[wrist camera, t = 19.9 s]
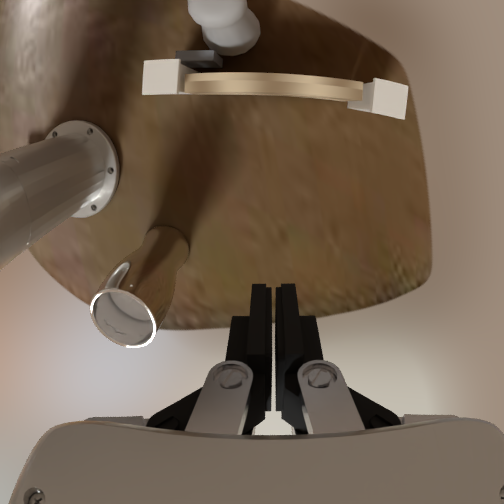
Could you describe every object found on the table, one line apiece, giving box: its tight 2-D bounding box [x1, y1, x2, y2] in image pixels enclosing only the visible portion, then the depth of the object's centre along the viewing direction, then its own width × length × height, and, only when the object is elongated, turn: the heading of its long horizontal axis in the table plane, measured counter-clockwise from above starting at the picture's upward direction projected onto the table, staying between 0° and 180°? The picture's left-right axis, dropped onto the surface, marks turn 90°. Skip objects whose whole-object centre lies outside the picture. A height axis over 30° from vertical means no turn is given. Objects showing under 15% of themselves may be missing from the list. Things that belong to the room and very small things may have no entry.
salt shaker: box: [188, 0, 261, 56], centre depth 23 cm, size 6×6×13 cm
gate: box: [185, 72, 363, 101], centre depth 27 cm, size 15×2×7 cm, turn 89°
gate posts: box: [142, 50, 408, 120], centre depth 26 cm, size 22×4×10 cm, turn 86°
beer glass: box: [90, 226, 189, 348], centre depth 33 cm, size 7×7×15 cm
